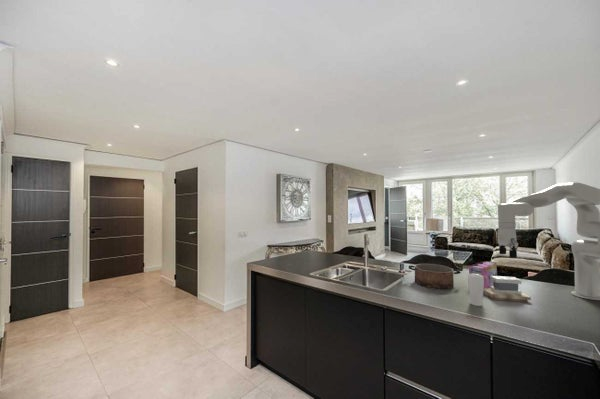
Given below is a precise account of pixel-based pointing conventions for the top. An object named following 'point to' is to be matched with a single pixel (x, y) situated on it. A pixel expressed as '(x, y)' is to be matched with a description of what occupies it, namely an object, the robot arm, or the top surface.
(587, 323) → the top surface
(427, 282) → the cooking pot
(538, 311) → the top surface
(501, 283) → the block
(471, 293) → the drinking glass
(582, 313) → the top surface
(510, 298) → the wavy cream panel
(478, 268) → the gum box
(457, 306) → the top surface
